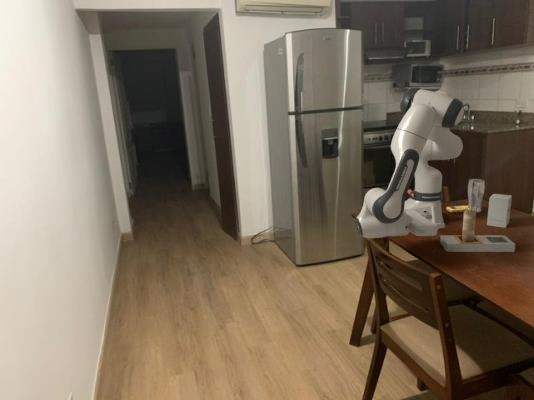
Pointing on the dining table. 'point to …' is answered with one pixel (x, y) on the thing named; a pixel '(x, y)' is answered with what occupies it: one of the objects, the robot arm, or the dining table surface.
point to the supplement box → (499, 210)
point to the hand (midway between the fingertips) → (437, 220)
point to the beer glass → (475, 194)
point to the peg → (468, 226)
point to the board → (477, 243)
